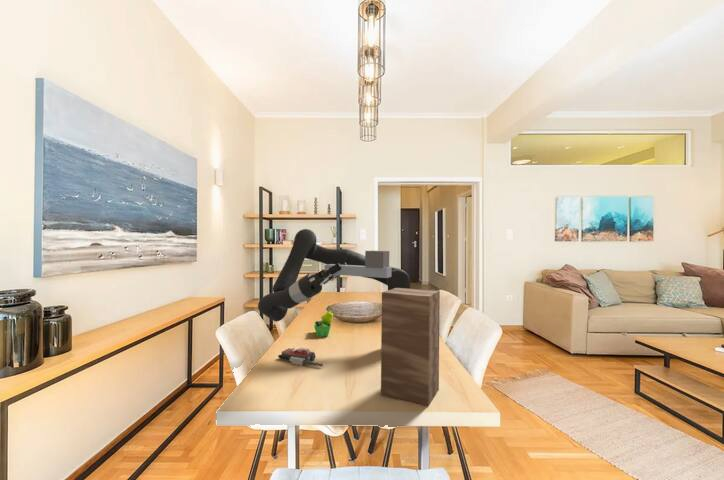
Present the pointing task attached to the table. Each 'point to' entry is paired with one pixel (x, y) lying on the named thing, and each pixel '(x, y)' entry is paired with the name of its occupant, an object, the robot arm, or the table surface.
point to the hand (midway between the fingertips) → (343, 265)
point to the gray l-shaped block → (368, 266)
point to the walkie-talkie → (299, 356)
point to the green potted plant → (324, 325)
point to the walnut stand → (410, 345)
